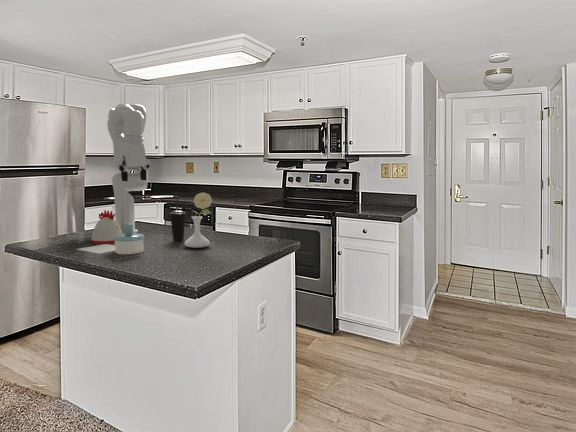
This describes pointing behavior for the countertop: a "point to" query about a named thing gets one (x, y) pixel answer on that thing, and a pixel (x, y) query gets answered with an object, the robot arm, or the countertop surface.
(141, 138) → the robot arm
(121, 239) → the lid
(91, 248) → the mat
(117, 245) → the bowl
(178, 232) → the drinking cup
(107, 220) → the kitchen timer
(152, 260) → the countertop surface
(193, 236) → the flower in vase
